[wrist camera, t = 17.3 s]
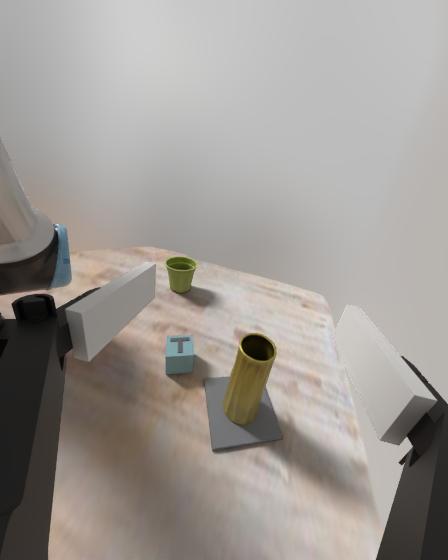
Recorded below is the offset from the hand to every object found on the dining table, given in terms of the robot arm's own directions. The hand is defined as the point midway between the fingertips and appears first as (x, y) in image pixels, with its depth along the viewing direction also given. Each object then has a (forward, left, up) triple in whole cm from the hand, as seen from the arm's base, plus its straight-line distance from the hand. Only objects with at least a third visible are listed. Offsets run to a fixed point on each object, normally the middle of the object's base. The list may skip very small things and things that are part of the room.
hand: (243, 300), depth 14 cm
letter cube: (-13, +12, -28) cm, 33 cm away
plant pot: (-29, +35, -28) cm, 53 cm away
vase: (+1, +10, -27) cm, 29 cm away
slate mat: (+1, +10, -28) cm, 30 cm away
